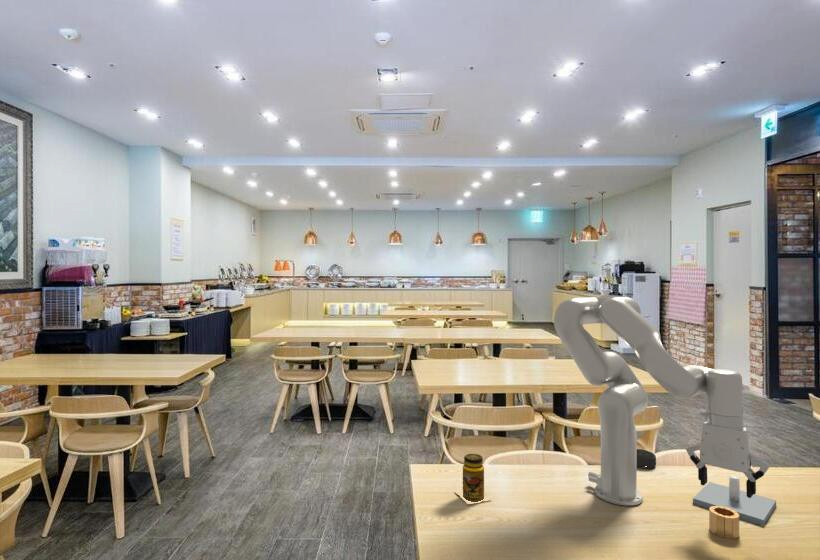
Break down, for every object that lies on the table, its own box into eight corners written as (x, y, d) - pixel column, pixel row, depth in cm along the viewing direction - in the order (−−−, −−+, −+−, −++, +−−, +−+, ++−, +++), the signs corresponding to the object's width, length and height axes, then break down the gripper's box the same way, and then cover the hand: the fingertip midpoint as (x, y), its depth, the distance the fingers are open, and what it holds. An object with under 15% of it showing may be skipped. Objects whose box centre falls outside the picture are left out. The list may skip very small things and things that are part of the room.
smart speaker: (623, 465, 157) (623, 453, 157) (630, 457, 164) (631, 446, 164) (652, 472, 151) (652, 459, 151) (658, 464, 158) (658, 452, 158)
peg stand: (692, 503, 129) (692, 476, 129) (709, 486, 140) (709, 462, 140) (763, 525, 117) (763, 496, 117) (776, 505, 128) (776, 478, 128)
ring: (706, 531, 114) (706, 511, 114) (713, 523, 118) (713, 503, 118) (735, 541, 110) (735, 520, 110) (741, 532, 114) (741, 512, 114)
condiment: (468, 506, 127) (468, 462, 127) (454, 493, 135) (454, 452, 135) (491, 501, 130) (491, 458, 130) (475, 488, 138) (475, 448, 138)
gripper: (681, 416, 118) (682, 483, 118) (764, 431, 105) (766, 506, 105) (690, 410, 123) (691, 475, 123) (771, 424, 110) (773, 496, 110)
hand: (726, 489), depth 114 cm, fingers open, 9 cm apart
